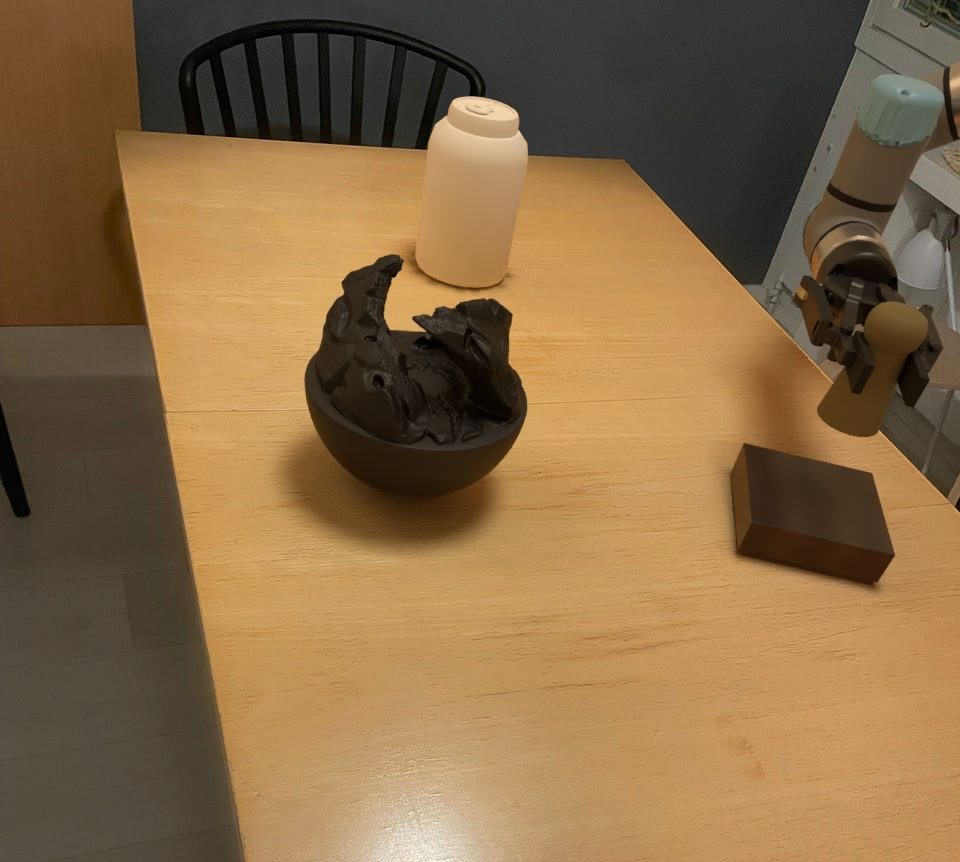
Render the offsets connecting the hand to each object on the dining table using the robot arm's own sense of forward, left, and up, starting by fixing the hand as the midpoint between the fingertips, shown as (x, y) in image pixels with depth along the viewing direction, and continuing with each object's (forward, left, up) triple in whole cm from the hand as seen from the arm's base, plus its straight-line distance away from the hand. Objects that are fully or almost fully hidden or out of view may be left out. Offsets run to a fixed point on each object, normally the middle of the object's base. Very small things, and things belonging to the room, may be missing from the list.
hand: (890, 386), depth 77 cm
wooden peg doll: (0, -5, -7) cm, 9 cm away
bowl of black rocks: (+40, +3, -19) cm, 44 cm away
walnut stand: (0, -4, -18) cm, 19 cm away
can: (+43, -46, -19) cm, 65 cm away
